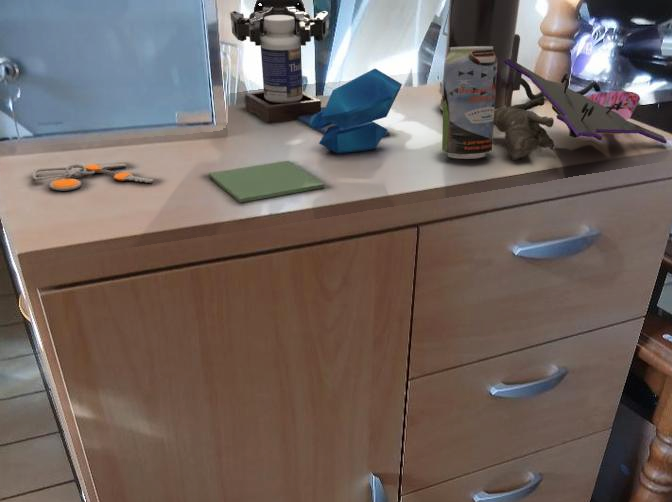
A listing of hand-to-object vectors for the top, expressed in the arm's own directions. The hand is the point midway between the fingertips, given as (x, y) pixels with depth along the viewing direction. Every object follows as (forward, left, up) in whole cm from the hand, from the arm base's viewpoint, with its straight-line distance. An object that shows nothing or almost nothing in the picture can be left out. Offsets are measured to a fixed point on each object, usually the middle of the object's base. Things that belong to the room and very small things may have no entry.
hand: (280, 36), depth 96 cm
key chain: (+30, +13, -10) cm, 34 cm away
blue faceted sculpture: (-2, +17, -10) cm, 19 cm away
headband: (-36, +25, -9) cm, 44 cm away
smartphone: (-5, +6, -10) cm, 13 cm away
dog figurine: (-23, +28, -7) cm, 37 cm away
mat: (+13, +23, -10) cm, 28 cm away
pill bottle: (-1, -2, -8) cm, 9 cm away
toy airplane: (-26, +31, -3) cm, 41 cm away
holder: (-1, -2, -10) cm, 10 cm away
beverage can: (-12, +25, -10) cm, 30 cm away
